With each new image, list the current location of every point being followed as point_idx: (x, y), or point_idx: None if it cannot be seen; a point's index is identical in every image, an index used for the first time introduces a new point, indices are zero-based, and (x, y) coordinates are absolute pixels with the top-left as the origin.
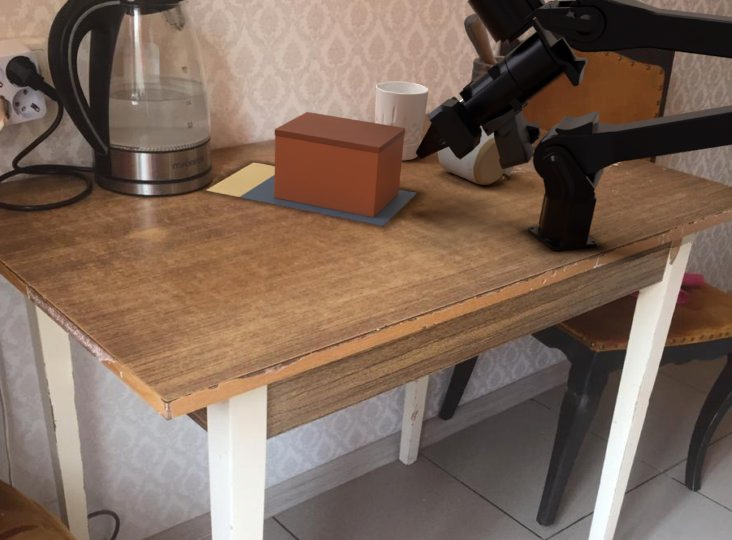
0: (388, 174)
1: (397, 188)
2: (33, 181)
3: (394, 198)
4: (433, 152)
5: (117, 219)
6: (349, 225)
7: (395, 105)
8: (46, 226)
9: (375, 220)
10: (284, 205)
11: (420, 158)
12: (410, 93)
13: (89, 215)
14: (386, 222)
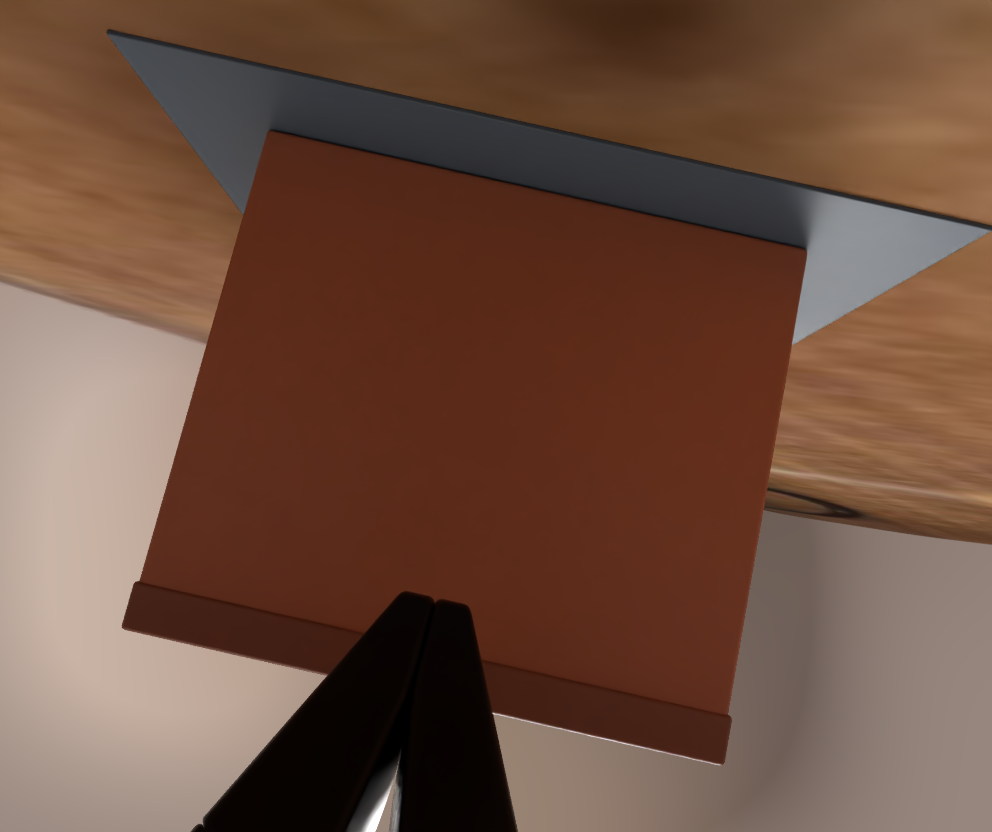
0: (507, 425)
1: (298, 195)
2: None
3: (361, 148)
4: (502, 777)
5: (900, 498)
6: (963, 318)
7: None
8: (946, 523)
9: (870, 247)
10: None
11: (470, 611)
12: None
13: (876, 502)
14: (909, 211)
